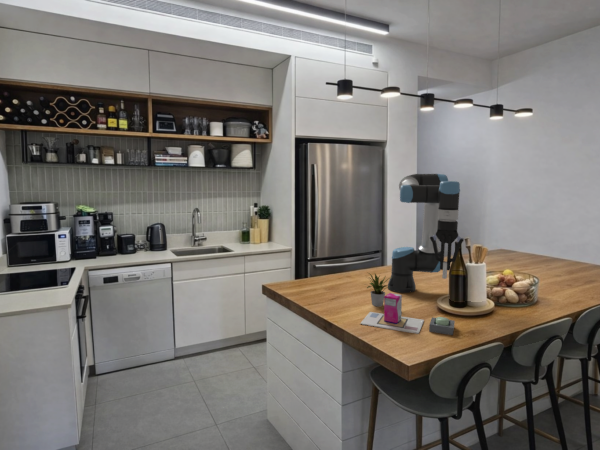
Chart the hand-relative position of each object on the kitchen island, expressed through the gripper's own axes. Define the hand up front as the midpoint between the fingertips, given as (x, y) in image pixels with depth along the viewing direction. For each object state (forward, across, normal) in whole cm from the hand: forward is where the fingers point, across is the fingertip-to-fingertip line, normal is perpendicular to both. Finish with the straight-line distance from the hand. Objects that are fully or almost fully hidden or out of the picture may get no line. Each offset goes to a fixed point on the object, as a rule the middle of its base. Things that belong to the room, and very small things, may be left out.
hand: (444, 277), depth 162 cm
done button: (+22, 0, 0) cm, 22 cm away
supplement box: (+21, -20, -1) cm, 29 cm away
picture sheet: (+22, -20, -2) cm, 30 cm away
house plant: (+22, -33, +20) cm, 44 cm away
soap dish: (+22, 0, 0) cm, 22 cm away
